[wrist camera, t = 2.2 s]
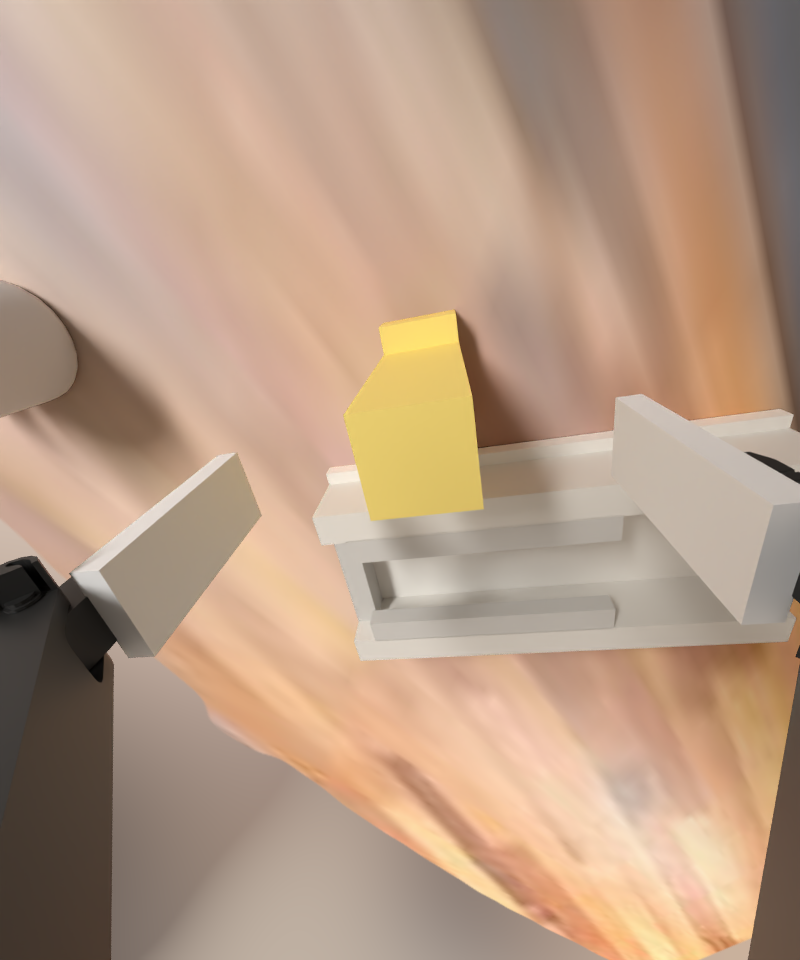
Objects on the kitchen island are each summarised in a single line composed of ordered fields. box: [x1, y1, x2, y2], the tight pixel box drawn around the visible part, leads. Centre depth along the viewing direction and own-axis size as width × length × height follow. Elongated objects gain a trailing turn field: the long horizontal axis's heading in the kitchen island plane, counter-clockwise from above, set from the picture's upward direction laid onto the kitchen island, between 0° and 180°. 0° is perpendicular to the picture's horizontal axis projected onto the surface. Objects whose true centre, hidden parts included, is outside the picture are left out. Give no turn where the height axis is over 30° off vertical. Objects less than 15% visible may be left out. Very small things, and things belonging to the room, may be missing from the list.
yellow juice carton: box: [343, 310, 484, 521], centre depth 18 cm, size 7×4×12 cm, turn 11°
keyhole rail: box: [312, 409, 800, 661], centre depth 26 cm, size 14×27×5 cm, turn 101°
